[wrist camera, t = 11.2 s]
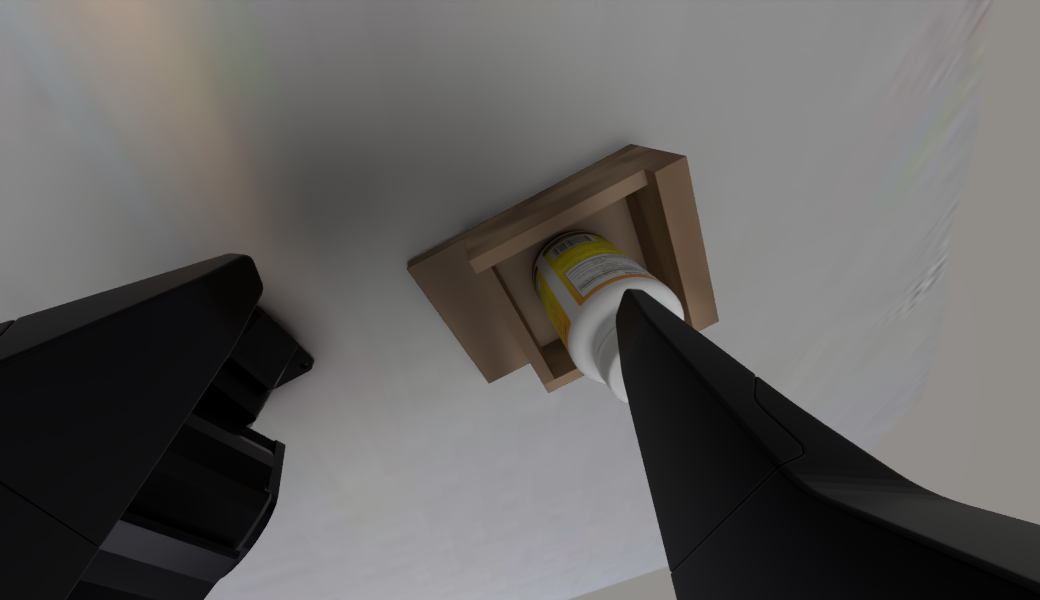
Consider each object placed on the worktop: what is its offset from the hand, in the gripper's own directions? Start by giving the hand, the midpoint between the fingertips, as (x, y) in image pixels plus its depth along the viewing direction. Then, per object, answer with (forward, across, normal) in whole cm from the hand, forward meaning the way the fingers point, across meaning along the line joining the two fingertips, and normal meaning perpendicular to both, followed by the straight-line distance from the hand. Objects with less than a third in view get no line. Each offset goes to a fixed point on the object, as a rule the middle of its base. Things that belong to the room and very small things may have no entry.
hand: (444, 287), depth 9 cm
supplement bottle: (+13, -6, +7) cm, 16 cm away
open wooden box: (+13, -5, +8) cm, 16 cm away
